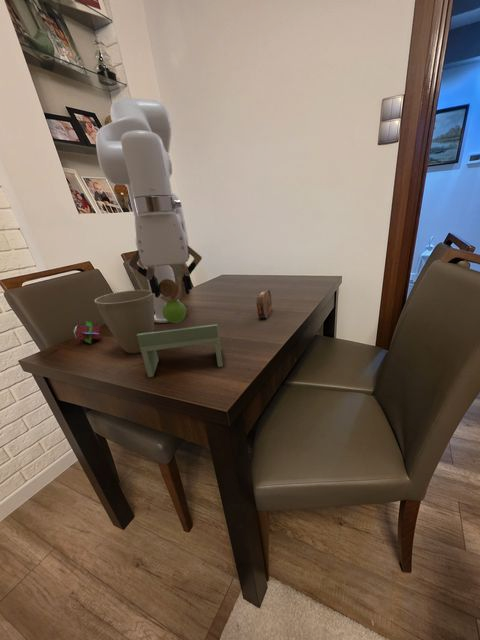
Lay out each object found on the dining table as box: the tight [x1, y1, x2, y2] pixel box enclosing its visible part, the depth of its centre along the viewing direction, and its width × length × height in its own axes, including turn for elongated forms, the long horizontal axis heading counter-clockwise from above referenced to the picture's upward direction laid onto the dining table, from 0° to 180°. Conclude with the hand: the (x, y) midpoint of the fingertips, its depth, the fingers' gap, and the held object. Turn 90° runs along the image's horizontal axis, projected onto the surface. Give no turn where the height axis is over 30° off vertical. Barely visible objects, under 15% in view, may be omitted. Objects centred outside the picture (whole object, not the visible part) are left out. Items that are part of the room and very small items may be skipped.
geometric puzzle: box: [73, 320, 101, 345], centre depth 90 cm, size 7×7×8 cm
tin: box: [256, 289, 273, 319], centre depth 103 cm, size 15×3×8 cm, turn 168°
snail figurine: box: [158, 270, 187, 324], centre depth 65 cm, size 5×6×12 cm
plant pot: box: [94, 289, 155, 354], centre depth 81 cm, size 15×15×16 cm
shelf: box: [137, 323, 224, 378], centre depth 70 cm, size 9×18×11 cm, turn 101°
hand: (173, 293), depth 65 cm, fingers closed on snail figurine, 6 cm apart
